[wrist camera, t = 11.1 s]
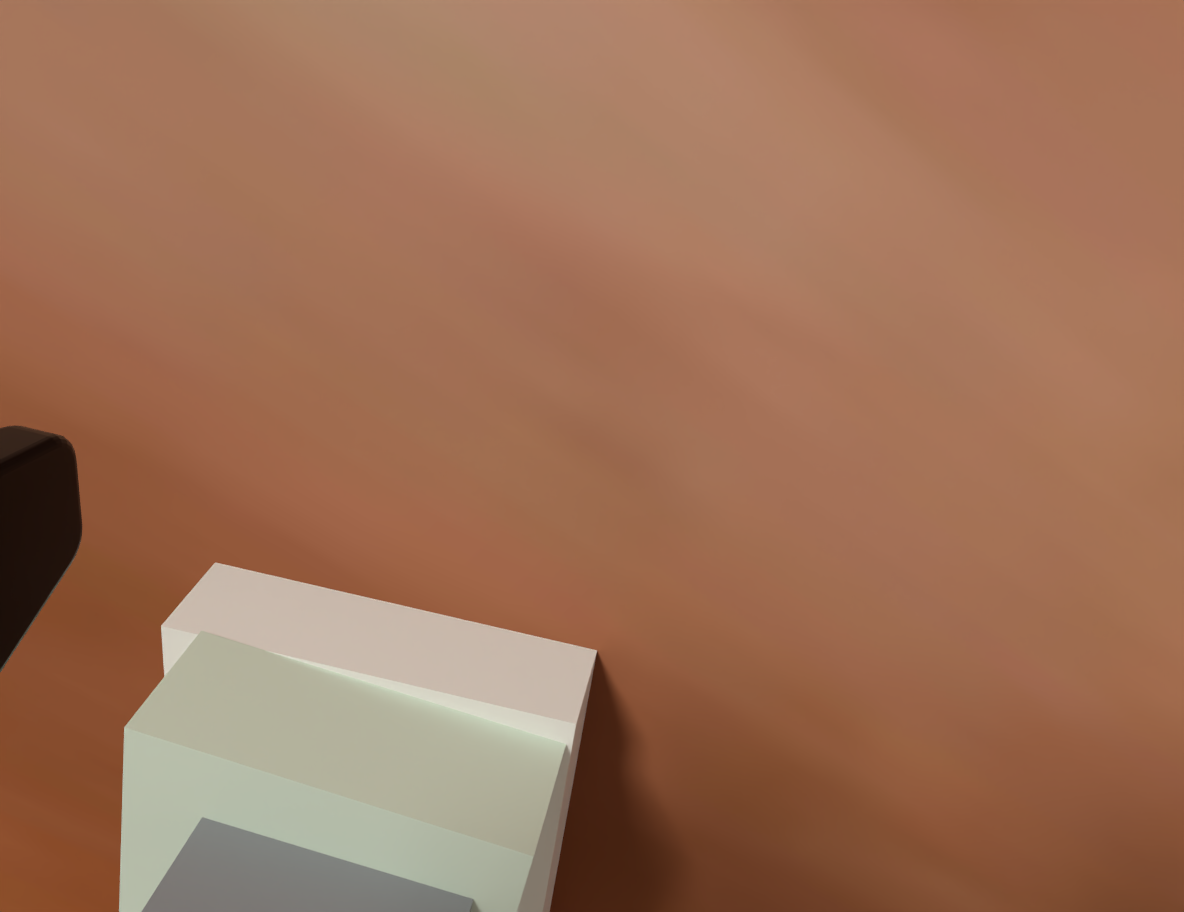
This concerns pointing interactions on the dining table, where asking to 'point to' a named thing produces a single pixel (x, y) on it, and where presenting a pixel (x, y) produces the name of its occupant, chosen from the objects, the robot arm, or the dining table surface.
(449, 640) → the tower bottom block
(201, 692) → the tower top block
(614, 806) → the dining table surface
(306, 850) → the gray block
